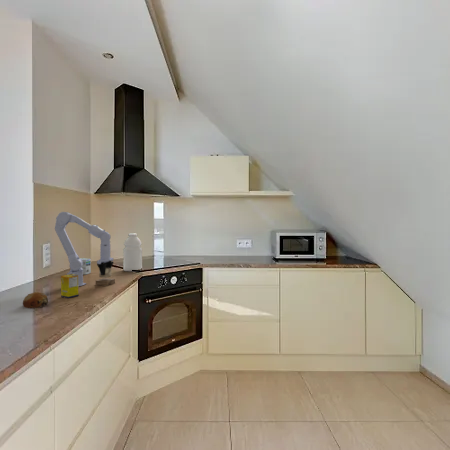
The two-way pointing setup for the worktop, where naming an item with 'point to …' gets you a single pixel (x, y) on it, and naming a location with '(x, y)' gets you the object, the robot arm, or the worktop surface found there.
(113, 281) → the walnut block
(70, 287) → the supplement box
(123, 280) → the worktop surface
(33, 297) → the bread roll
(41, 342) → the worktop surface
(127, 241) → the bottle
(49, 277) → the worktop surface
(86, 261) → the light bulb box
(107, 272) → the maple cube
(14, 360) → the worktop surface
